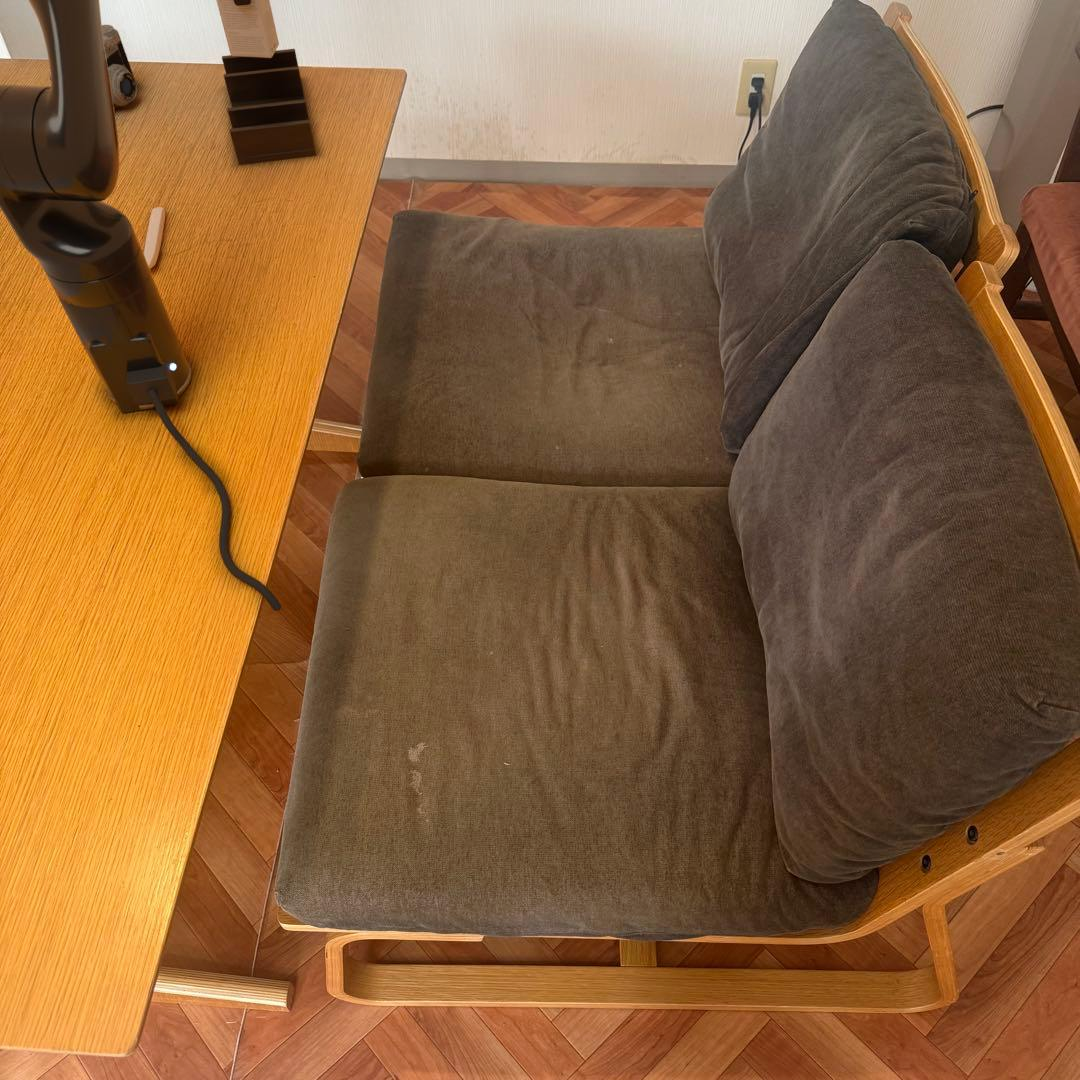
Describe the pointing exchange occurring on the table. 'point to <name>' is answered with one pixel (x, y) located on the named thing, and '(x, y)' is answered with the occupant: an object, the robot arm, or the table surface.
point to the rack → (267, 108)
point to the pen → (154, 236)
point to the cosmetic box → (249, 28)
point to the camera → (118, 68)
